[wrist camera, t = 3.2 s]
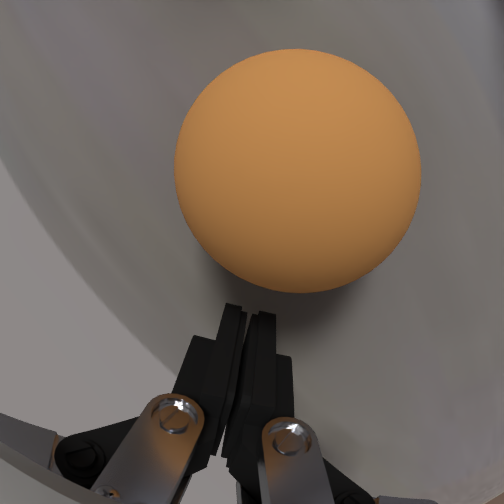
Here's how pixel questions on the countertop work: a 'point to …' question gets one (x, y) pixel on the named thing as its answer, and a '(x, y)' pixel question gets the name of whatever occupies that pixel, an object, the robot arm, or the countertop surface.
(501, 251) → the countertop surface
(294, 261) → the ball
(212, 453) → the robot arm
